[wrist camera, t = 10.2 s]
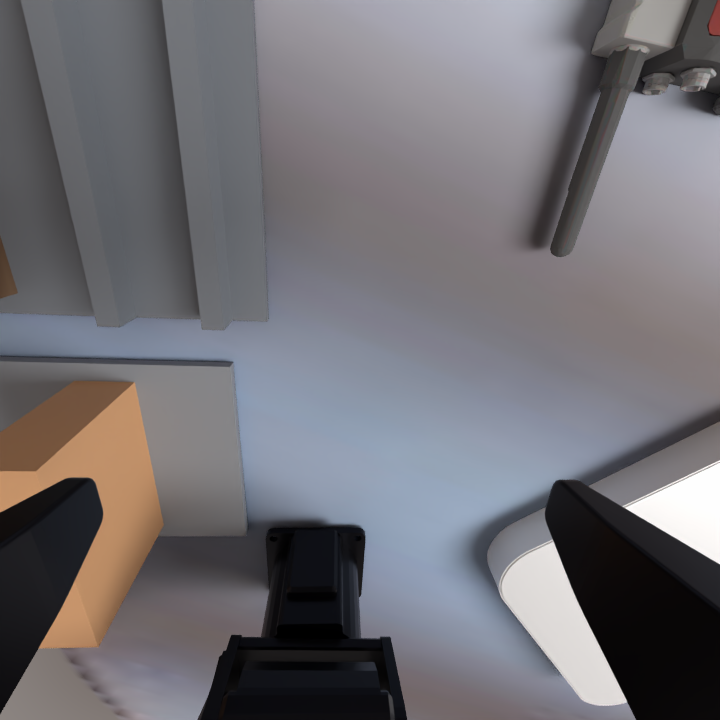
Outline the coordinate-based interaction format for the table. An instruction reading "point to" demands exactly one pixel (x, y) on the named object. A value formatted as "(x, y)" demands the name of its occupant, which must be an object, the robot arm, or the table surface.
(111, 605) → the light brown flat block
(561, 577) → the white plate
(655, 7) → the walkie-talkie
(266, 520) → the table surface
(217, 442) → the mat
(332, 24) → the table surface
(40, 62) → the rack
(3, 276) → the offcut
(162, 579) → the table surface
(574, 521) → the robot arm
